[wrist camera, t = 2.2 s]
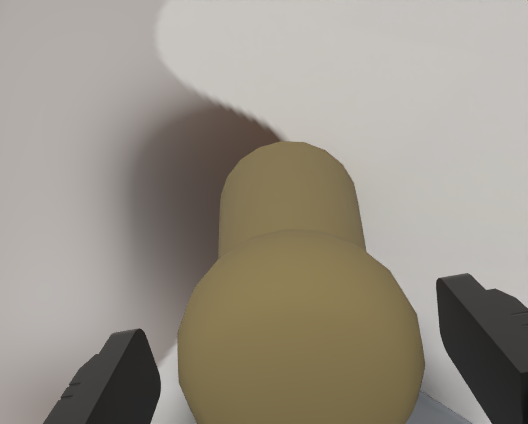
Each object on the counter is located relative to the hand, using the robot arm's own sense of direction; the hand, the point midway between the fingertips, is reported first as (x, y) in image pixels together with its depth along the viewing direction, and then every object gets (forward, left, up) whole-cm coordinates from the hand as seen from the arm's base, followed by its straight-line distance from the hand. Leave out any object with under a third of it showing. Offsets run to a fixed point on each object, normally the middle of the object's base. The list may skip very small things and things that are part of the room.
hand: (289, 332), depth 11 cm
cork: (-1, 0, -8) cm, 8 cm away
